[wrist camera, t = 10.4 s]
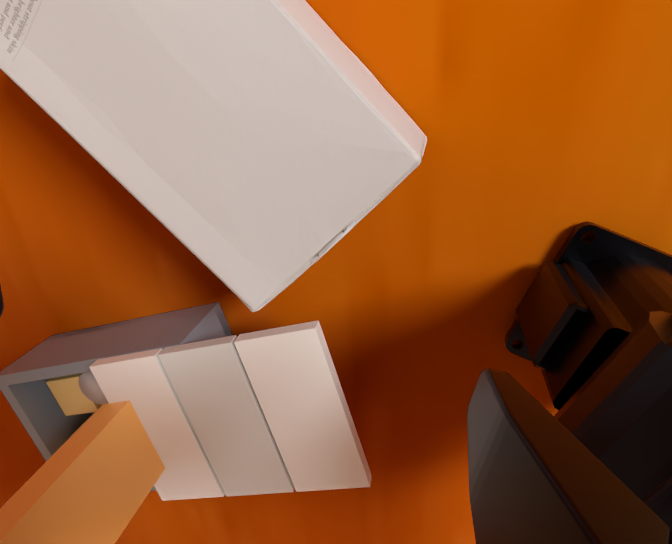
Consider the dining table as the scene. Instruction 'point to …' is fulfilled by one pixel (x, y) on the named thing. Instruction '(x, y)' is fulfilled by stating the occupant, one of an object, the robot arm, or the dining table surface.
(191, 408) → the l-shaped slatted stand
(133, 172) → the skincare box
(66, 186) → the dining table surface
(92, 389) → the gray open box
